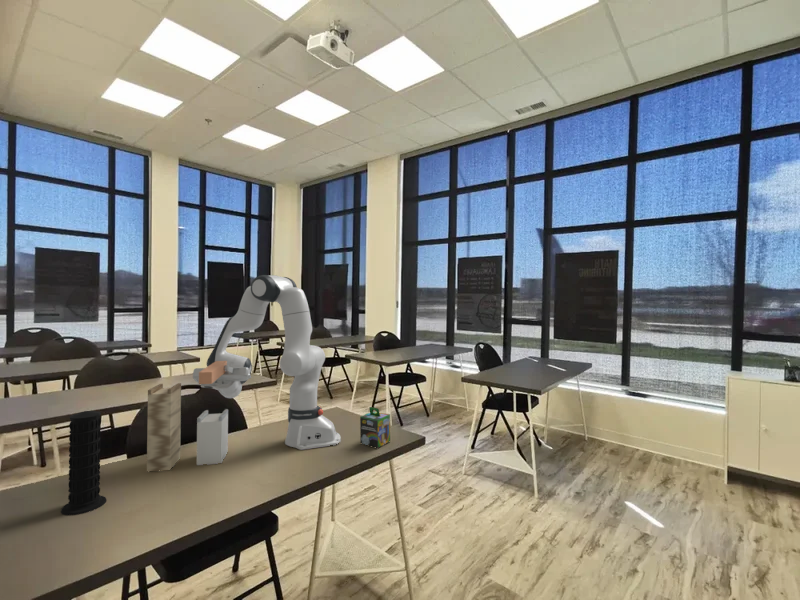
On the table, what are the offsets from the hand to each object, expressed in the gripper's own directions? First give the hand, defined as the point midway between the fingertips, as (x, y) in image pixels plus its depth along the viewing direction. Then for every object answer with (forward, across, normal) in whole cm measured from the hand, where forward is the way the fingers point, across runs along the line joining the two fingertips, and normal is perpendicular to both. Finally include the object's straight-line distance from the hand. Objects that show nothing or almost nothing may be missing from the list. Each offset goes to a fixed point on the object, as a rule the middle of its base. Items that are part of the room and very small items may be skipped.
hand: (217, 367), depth 147 cm
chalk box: (-16, -60, -29) cm, 69 cm away
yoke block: (-11, 0, -31) cm, 33 cm away
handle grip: (+13, +27, -45) cm, 54 cm away
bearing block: (-8, +15, -32) cm, 37 cm away
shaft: (+4, 0, -5) cm, 6 cm away
